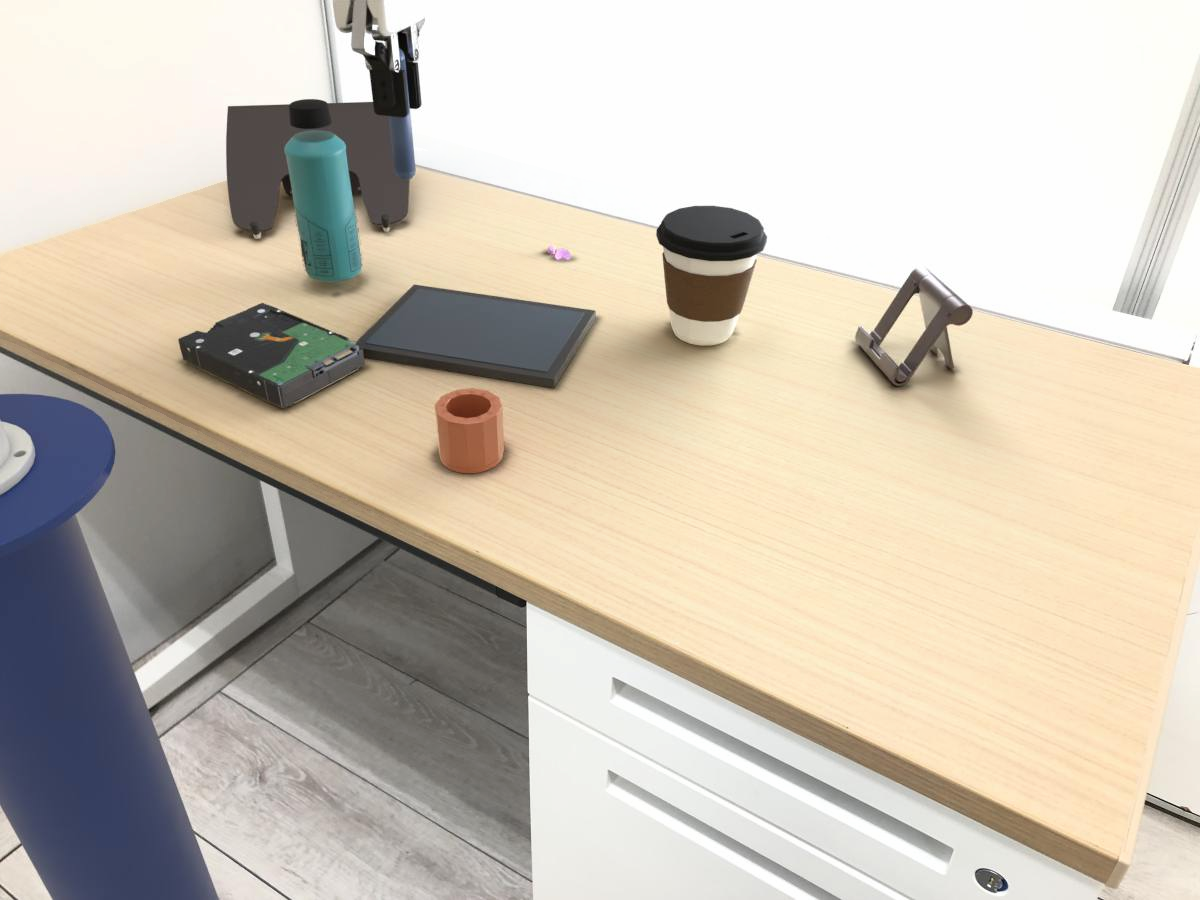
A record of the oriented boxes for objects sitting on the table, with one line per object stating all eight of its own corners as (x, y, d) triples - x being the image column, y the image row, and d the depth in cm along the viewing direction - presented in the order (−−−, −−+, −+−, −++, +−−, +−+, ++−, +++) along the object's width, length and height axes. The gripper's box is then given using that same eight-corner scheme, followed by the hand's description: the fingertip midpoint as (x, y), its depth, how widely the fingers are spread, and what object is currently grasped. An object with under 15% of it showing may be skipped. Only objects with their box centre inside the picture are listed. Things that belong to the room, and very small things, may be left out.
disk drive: (181, 365, 93) (284, 412, 86) (174, 339, 91) (279, 385, 85) (266, 325, 100) (368, 365, 93) (261, 300, 99) (364, 340, 92)
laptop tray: (237, 276, 123) (220, 227, 115) (238, 145, 133) (223, 92, 125) (419, 265, 127) (415, 217, 119) (406, 139, 137) (401, 87, 129)
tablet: (554, 388, 91) (554, 378, 90) (352, 355, 95) (351, 346, 94) (595, 318, 103) (595, 309, 102) (414, 292, 107) (413, 283, 106)
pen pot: (490, 478, 79) (487, 428, 76) (429, 467, 80) (424, 417, 77) (512, 442, 83) (510, 394, 80) (454, 432, 84) (450, 384, 82)
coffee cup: (775, 337, 100) (791, 228, 94) (700, 368, 95) (711, 255, 88) (703, 299, 107) (713, 195, 100) (629, 326, 102) (634, 218, 95)
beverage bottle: (376, 282, 109) (355, 101, 97) (327, 301, 105) (299, 114, 93) (342, 265, 112) (317, 89, 101) (293, 283, 108) (262, 101, 97)
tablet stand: (852, 343, 100) (867, 269, 95) (921, 338, 101) (939, 264, 96) (890, 387, 93) (908, 309, 88) (964, 380, 94) (986, 303, 89)
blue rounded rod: (411, 184, 90) (397, 49, 83) (391, 182, 91) (376, 47, 84) (420, 177, 92) (407, 44, 85) (400, 175, 92) (386, 42, 85)
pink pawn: (564, 270, 117) (573, 259, 117) (564, 265, 115) (573, 253, 116) (544, 257, 117) (552, 245, 117) (544, 252, 115) (552, 240, 116)
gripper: (375, -133, 84) (397, 85, 94) (280, -117, 71) (318, 132, 82) (455, -129, 82) (469, 92, 93) (372, -112, 70) (399, 141, 80)
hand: (398, 109), depth 87 cm, fingers closed on blue rounded rod, 2 cm apart
